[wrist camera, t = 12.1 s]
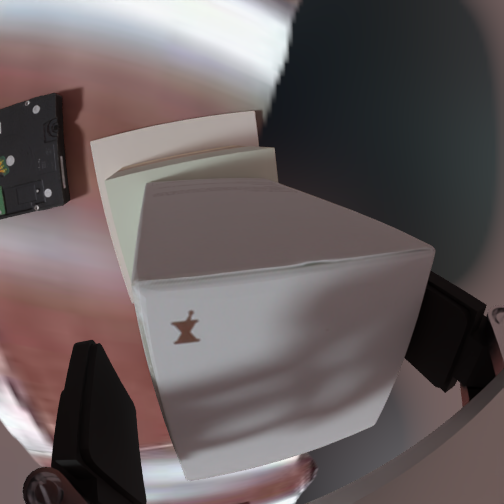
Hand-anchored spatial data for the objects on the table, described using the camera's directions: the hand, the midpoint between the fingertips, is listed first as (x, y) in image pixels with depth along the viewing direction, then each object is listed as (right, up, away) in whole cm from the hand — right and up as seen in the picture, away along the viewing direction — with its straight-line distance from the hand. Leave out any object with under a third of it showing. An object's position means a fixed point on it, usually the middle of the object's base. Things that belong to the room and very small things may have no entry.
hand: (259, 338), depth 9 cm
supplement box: (-3, +3, +9) cm, 10 cm away
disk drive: (-24, +11, +12) cm, 29 cm away
